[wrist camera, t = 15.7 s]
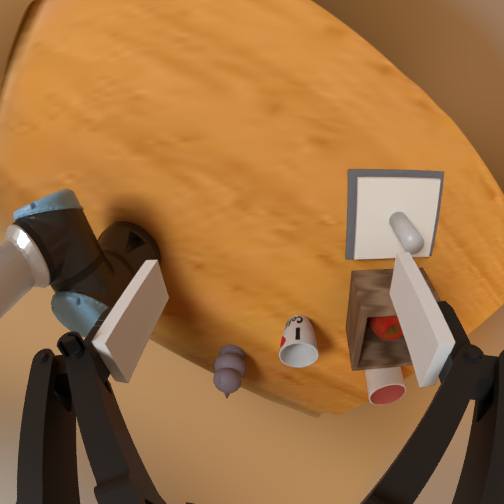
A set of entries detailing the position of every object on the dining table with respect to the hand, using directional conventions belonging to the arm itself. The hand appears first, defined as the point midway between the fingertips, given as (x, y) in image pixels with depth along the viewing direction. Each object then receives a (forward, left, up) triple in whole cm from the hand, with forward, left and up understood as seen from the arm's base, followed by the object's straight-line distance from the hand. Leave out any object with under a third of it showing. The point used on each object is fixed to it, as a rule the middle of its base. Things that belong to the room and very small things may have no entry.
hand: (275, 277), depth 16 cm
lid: (+20, -14, -38) cm, 45 cm away
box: (+20, -34, -39) cm, 55 cm away
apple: (+20, -34, -39) cm, 55 cm away
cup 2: (+24, -58, -39) cm, 74 cm away
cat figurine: (-16, -51, -39) cm, 66 cm away
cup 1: (+1, -40, -39) cm, 56 cm away
